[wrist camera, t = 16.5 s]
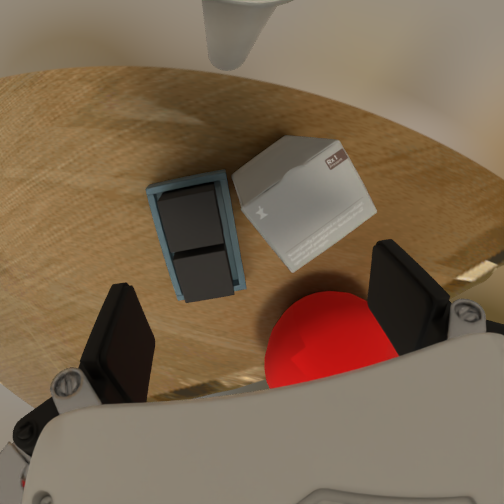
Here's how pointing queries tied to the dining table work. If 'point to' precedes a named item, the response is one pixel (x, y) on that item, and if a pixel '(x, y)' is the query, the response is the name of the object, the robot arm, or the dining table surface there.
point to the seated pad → (204, 272)
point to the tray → (226, 217)
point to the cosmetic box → (302, 197)
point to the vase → (324, 339)
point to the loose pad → (191, 217)
